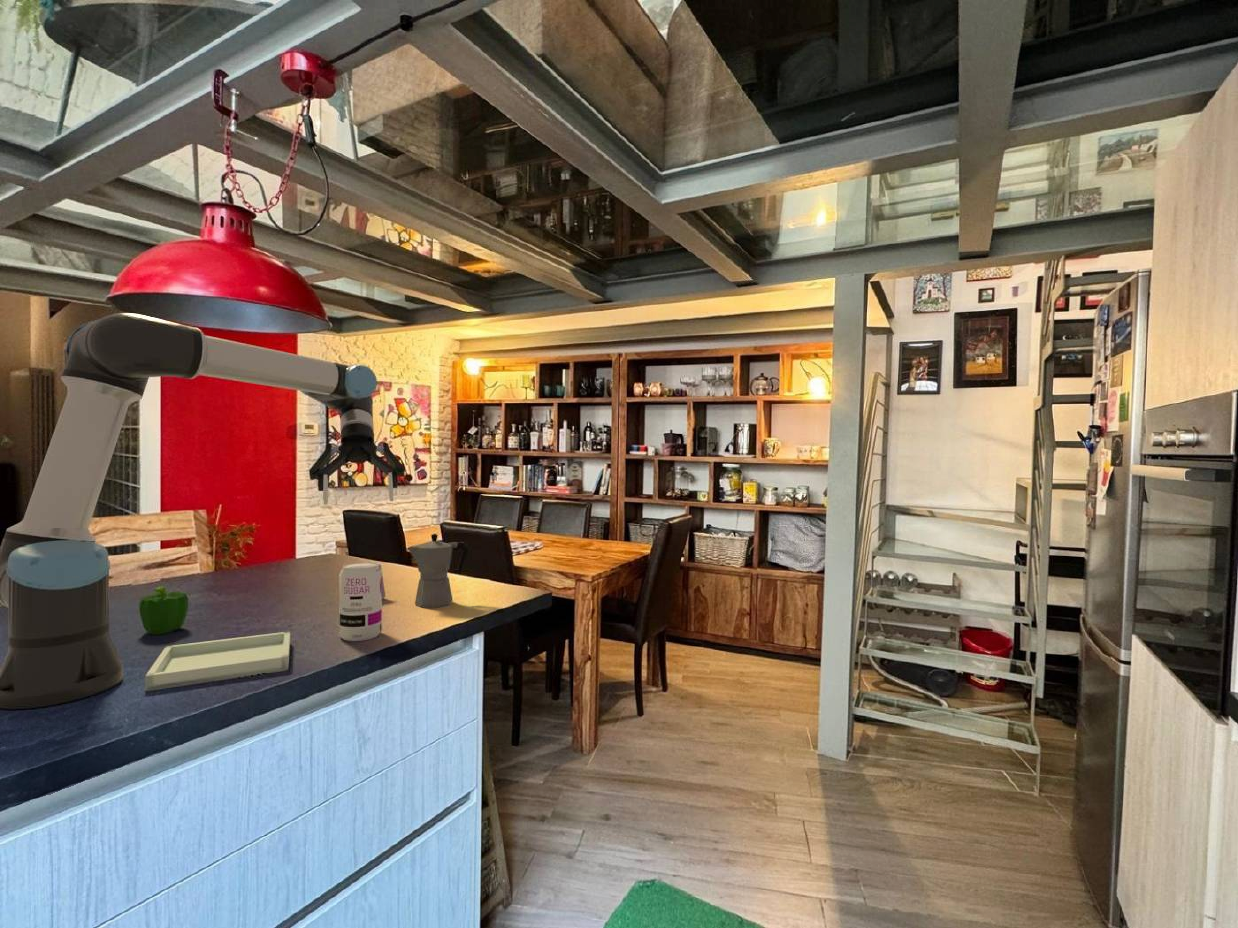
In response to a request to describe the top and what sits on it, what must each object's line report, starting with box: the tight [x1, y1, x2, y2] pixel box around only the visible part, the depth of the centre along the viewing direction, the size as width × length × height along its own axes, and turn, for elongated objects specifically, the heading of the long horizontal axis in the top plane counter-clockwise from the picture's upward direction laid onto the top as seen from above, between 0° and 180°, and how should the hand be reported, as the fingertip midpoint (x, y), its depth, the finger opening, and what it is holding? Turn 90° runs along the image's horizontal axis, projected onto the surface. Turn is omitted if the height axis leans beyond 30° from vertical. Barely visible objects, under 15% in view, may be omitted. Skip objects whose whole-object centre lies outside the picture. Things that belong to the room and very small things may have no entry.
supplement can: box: [338, 561, 383, 642], centre depth 122 cm, size 8×8×15 cm
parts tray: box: [144, 631, 291, 692], centre depth 104 cm, size 20×16×2 cm
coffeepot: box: [406, 533, 470, 609], centre depth 149 cm, size 15×9×18 cm, turn 112°
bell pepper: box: [138, 586, 189, 635], centre depth 123 cm, size 8×8×10 cm
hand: (359, 499), depth 130 cm, fingers open, 13 cm apart
